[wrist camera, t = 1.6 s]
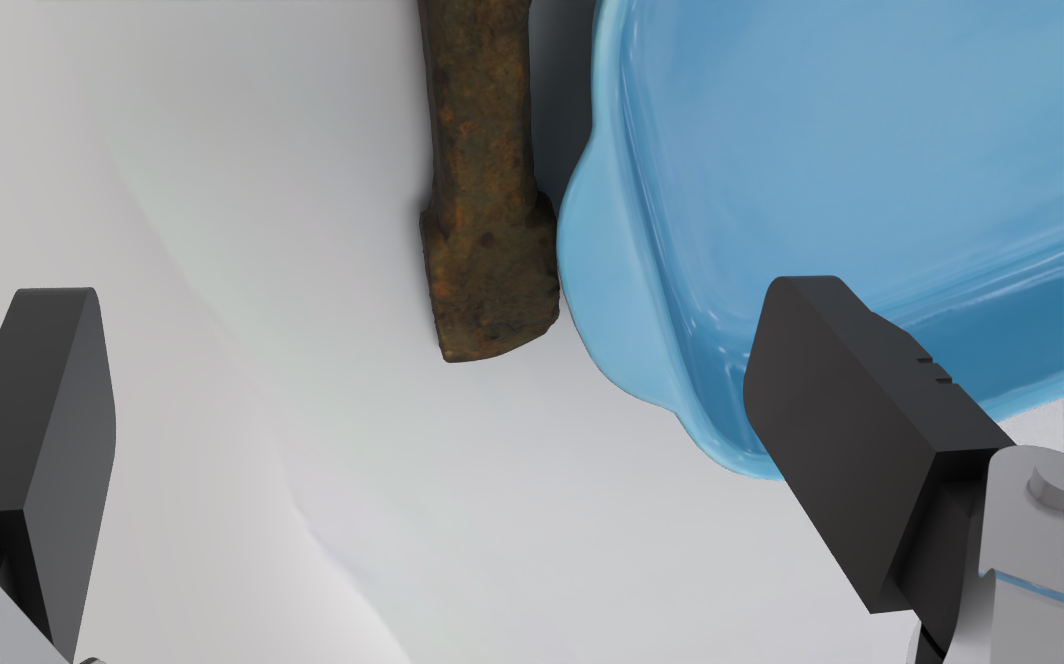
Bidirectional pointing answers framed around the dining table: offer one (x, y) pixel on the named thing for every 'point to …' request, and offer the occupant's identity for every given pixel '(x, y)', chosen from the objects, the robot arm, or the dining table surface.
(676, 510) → the dining table surface
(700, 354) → the casserole dish
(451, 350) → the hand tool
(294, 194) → the dining table surface
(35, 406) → the robot arm
